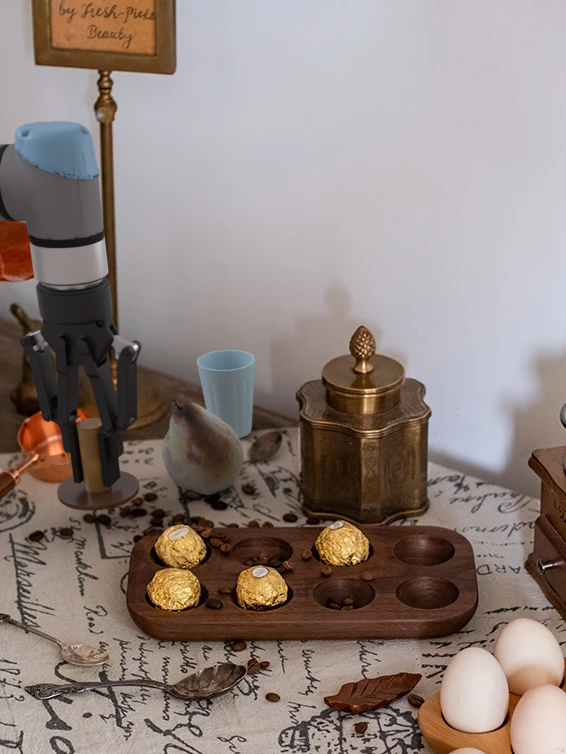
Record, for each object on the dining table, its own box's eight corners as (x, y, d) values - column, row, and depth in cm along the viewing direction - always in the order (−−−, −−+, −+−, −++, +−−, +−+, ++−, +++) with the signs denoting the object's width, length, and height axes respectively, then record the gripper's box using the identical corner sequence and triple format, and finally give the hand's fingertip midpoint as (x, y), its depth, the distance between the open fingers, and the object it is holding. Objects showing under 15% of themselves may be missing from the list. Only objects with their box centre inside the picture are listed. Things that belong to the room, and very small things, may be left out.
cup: (219, 416, 155) (213, 346, 150) (268, 424, 153) (264, 353, 148) (193, 438, 149) (186, 365, 144) (244, 446, 147) (239, 373, 142)
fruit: (151, 483, 137) (141, 394, 132) (213, 461, 143) (206, 374, 137) (198, 512, 131) (190, 419, 125) (261, 487, 136) (256, 397, 131)
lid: (42, 505, 124) (31, 435, 120) (81, 469, 132) (72, 403, 128) (117, 515, 122) (109, 445, 118) (152, 478, 130) (146, 411, 126)
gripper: (158, 275, 117) (176, 474, 128) (22, 263, 120) (50, 457, 131) (127, 296, 110) (148, 503, 121) (-17, 283, 114) (17, 485, 125)
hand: (97, 479), depth 126 cm, fingers closed on lid, 3 cm apart
